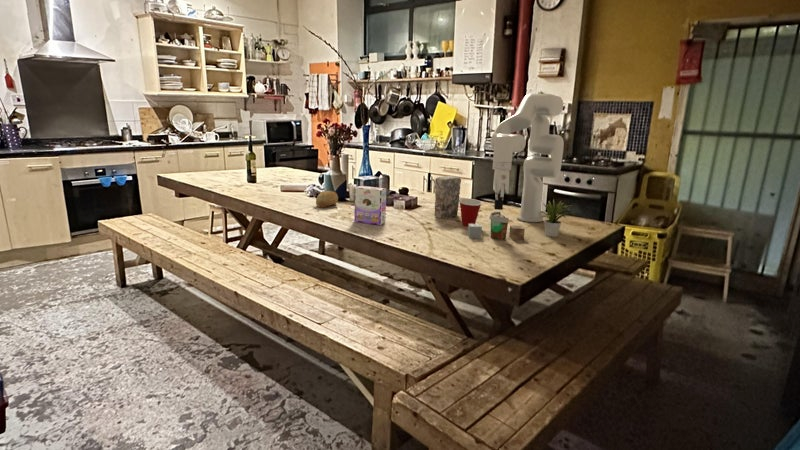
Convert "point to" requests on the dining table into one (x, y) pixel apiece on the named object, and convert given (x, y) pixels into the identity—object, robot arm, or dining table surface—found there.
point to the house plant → (553, 218)
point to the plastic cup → (469, 211)
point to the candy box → (370, 205)
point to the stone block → (447, 196)
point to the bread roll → (326, 199)
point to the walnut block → (516, 232)
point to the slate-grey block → (474, 230)
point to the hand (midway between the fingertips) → (498, 209)
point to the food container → (498, 226)
